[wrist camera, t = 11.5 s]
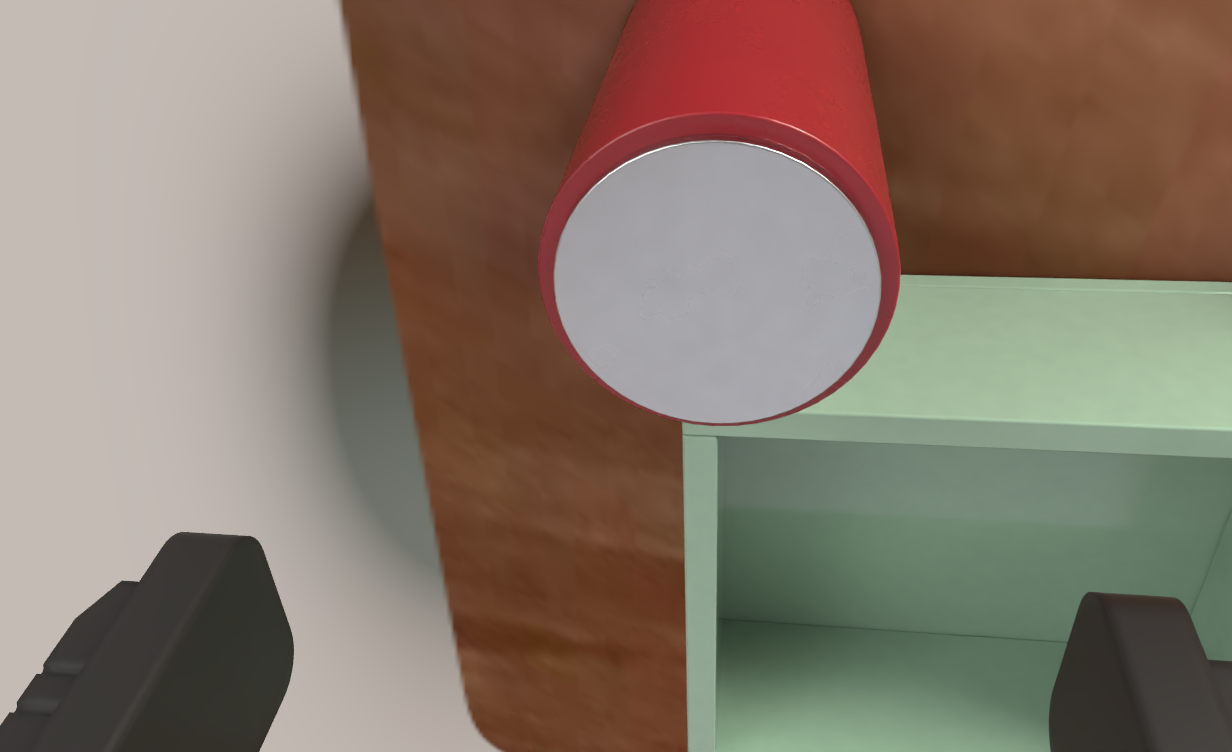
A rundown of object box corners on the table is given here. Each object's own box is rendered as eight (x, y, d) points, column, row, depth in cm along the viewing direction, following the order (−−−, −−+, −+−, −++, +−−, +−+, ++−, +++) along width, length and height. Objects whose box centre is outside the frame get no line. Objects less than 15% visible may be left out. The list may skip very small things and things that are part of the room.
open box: (700, 268, 28) (681, 407, 23) (1338, 283, 26) (1469, 439, 21) (701, 619, 36) (688, 778, 31) (1190, 652, 33) (1260, 829, 29)
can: (614, -59, 23) (514, 120, 15) (873, -66, 22) (924, 119, 14) (626, 174, 26) (550, 431, 18) (852, 176, 26) (884, 445, 17)
